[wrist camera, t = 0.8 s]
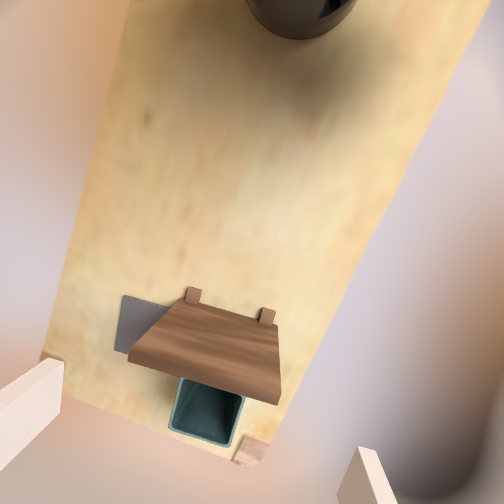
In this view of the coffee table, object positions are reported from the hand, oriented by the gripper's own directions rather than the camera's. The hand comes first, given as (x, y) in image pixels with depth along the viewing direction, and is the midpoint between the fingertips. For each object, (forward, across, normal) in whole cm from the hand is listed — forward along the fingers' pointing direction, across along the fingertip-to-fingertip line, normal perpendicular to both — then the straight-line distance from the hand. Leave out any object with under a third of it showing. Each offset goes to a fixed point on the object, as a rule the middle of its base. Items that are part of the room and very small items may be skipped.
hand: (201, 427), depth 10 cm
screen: (+26, -2, -8) cm, 28 cm away
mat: (+26, -14, -15) cm, 33 cm away
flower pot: (+26, -1, -18) cm, 32 cm away
